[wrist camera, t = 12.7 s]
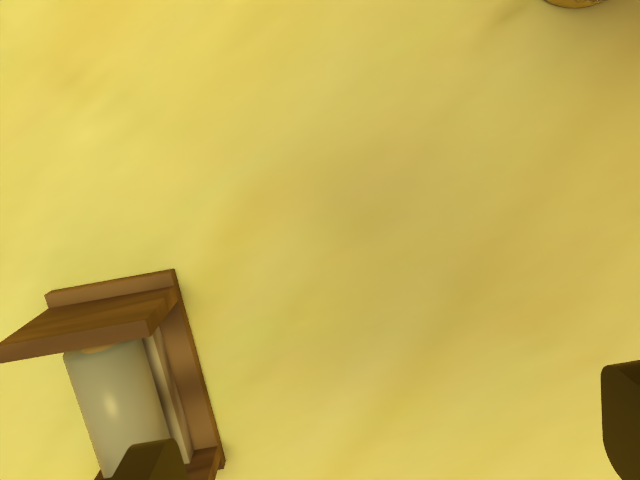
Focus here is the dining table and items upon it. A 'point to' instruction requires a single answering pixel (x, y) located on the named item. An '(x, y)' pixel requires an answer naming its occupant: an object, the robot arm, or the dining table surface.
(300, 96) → the dining table surface
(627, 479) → the robot arm
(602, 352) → the dining table surface
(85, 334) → the holder
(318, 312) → the dining table surface
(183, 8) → the dining table surface
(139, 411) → the cylinder
